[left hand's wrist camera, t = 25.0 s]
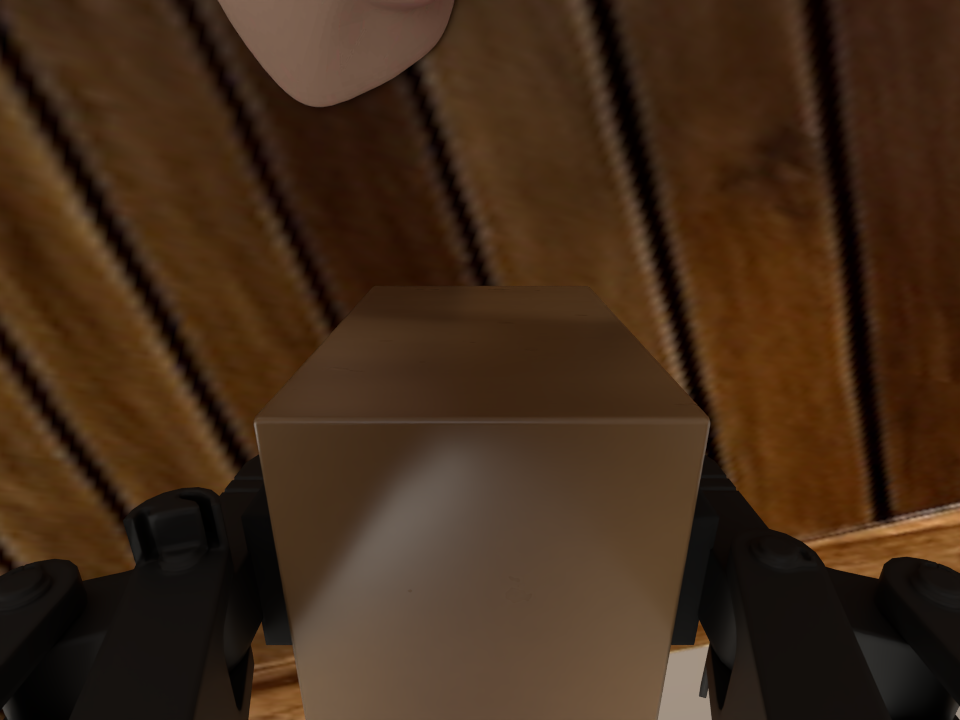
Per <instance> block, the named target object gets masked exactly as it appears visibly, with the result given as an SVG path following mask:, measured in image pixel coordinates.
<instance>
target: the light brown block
mask: <svg viewBox="0 0 960 720" xmlns="http://www.w3.org/2000/svg"><path fill="white" fill-rule="evenodd" d="M254 428H255V433H256V439H257V445H258V451H259V456H260V462H261V468H262V473H263V479H264V485H265V491H266V496H267V502H268V508H269V513H270V519H271V525H272V531H273V536H274V542H275V548H276V553H277V559H278V565H279V571H280V576H281V582H282V588H283V593H284V599H285V605H286V611H287V616H288V622H289V628H290V633H291V639H292V645H293V651H294V656H295V662H296V668H297V673H298V679H299V685H300V691H301V696H302V702H303V708H304V713H305V719H306V720H658V714H659V708H660V703H661V697H662V692H663V686H664V680H665V675H666V669H667V663H668V658H669V652H670V647H671V641H672V635H673V630H674V624H675V619H676V613H677V607H678V602H679V596H680V591H681V585H682V579H683V574H684V568H685V563H686V557H687V551H688V546H689V540H690V534H691V529H692V523H693V518H694V512H695V506H696V501H697V495H698V490H699V484H700V478H701V473H702V467H703V461H704V456H705V450H706V445H707V439H708V433H709V428H710V420H709V417H708V416H707V415H706V414H705V413H704V412H703V411H702V410H701V409H700V407H699V406H698V405H697V404H696V403H695V402H694V401H693V400H692V399H691V398H690V397H689V395H688V394H687V393H686V392H685V391H684V390H683V389H682V388H681V387H680V386H679V384H678V383H677V382H676V381H675V380H674V379H673V378H672V377H671V376H670V375H669V374H668V372H667V371H666V370H665V369H664V368H663V367H662V366H661V365H660V364H659V363H658V362H657V360H656V359H655V358H654V357H653V356H652V355H651V354H650V353H649V352H648V351H647V350H646V348H645V347H644V346H643V345H642V344H641V343H640V342H639V341H638V340H637V339H636V338H635V336H634V335H633V334H632V333H631V332H630V331H629V330H628V329H627V328H626V327H625V326H624V324H623V323H622V322H621V321H620V320H619V319H618V318H617V317H616V316H615V315H614V314H613V312H612V311H611V310H610V309H609V308H608V307H607V306H606V305H605V304H604V303H603V302H602V300H601V299H600V298H599V297H598V296H597V295H596V294H595V293H594V292H593V291H592V289H591V288H590V287H588V286H374V287H373V288H372V289H371V290H370V291H369V292H368V293H367V294H366V295H365V297H364V298H363V299H362V300H361V301H360V302H359V303H358V304H357V305H356V307H355V308H354V309H353V310H352V311H351V312H350V313H349V314H348V315H347V316H346V318H345V319H344V320H343V321H342V322H341V323H340V324H339V325H338V326H337V328H336V329H335V330H334V331H333V332H332V333H331V334H330V335H329V336H328V337H327V339H326V340H325V341H324V342H323V343H322V344H321V345H320V346H319V347H318V348H317V350H316V351H315V352H314V353H313V354H312V355H311V356H310V357H309V358H308V360H307V361H306V362H305V363H304V364H303V365H302V366H301V367H300V368H299V369H298V371H297V372H296V373H295V374H294V375H293V376H292V377H291V378H290V379H289V381H288V382H287V383H286V384H285V385H284V386H283V387H282V388H281V389H280V390H279V392H278V393H277V394H276V395H275V396H274V397H273V398H272V399H271V400H270V402H269V403H268V404H267V405H266V406H265V407H264V408H263V409H262V410H261V411H260V413H259V414H258V415H257V416H256V417H255V420H254Z"/></svg>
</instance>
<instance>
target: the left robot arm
mask: <svg viewBox="0 0 960 720" xmlns="http://www.w3.org/2000/svg"><path fill="white" fill-rule="evenodd" d="M123 522H124V526H125V529H126V532H127V536H128V539H129V542H130V546H131V549H132V552H133V556H134V559H135V562H136V566H135V568H134V569H133V570H130V571H126V572H122V573H117V574H113V575H108V576H104V577H99V578H94V579H90V580H85V581H82V579H81V576H80V573H79V570H78V567H77V566H76V565H75V564H73V563H72V562H70V561H69V560H60V559H51V560H44V561H38V562H34V563H30V564H26V565H25V566H21V567H18V568H15V569H13V570H11V571H9V572H7V573H6V574H4V575H2V576H0V710H1V709H3V711H4V713H5V715H6V717H5V718H4V719H3V720H248V717H249V708H250V699H251V690H252V680H253V671H254V660H253V653H252V649H251V642H252V640H253V638H254V636H255V634H256V632H257V630H258V628H259V626H260V624H261V621H262V626H263V631H264V636H265V641H266V645H292V639H291V633H290V628H289V622H288V616H287V611H286V605H285V599H284V593H283V588H282V582H281V576H280V571H279V565H278V559H277V553H276V548H275V542H274V536H273V531H272V525H271V519H270V513H269V508H268V502H267V496H266V491H265V485H264V479H263V473H262V468H261V462H260V456H259V455H257V456H256V457H254V458H253V459H251V460H250V461H248V462H247V463H245V465H244V466H243V467H242V468H241V470H240V471H239V472H238V473H237V475H236V476H235V477H234V480H232V481H231V482H230V484H229V485H228V486H227V487H226V489H225V492H222V494H221V495H220V496H219V495H217V494H216V493H215V492H213V491H212V490H210V489H205V488H200V487H194V488H181V489H177V490H173V491H169V492H165V493H162V494H160V495H158V496H155V497H153V498H151V499H148V500H146V501H145V502H143V503H142V504H140V505H139V506H137V507H136V508H134V509H133V510H132V511H131V512H130V513H129V514H128V515H127V517H126V518H125V519H124V520H123ZM699 620H700V622H701V624H702V626H703V629H704V631H705V633H706V635H707V637H708V639H709V641H710V644H709V649H708V653H707V658H706V663H705V667H704V672H703V677H702V681H701V687H700V693H699V696H700V697H703V698H706V696H707V691H708V688H709V697H710V707H711V716H712V720H959V718H958V717H957V716H956V715H955V714H956V712H957V710H958V708H959V706H960V573H958V572H956V571H954V570H952V569H951V568H949V567H947V566H944V565H941V564H937V563H936V562H932V561H928V560H924V559H918V558H912V557H900V558H892V559H891V560H889V561H888V562H886V563H885V564H884V566H883V569H882V572H881V574H880V577H879V579H876V578H872V577H867V576H862V575H858V574H853V573H849V572H844V571H839V570H835V569H832V568H828V567H825V565H824V563H823V562H822V560H821V559H820V558H819V556H818V555H817V553H816V552H815V551H813V550H812V549H811V548H809V547H808V546H807V545H806V544H804V543H803V542H802V541H799V540H797V539H795V538H793V537H791V536H789V535H787V534H785V533H782V532H778V531H774V530H771V529H769V528H768V527H767V526H766V525H765V523H764V522H763V521H762V520H761V518H760V517H759V516H758V515H757V513H756V512H755V511H754V510H753V508H752V507H751V506H750V505H749V503H748V502H747V501H746V500H745V498H744V497H743V496H742V495H741V493H740V492H739V491H736V487H735V486H734V485H733V483H732V482H731V481H730V480H729V479H727V478H726V475H725V473H724V472H723V471H722V470H721V468H720V467H719V466H718V465H717V463H716V462H715V461H714V460H712V459H711V458H709V457H707V456H706V455H705V456H704V461H703V467H702V473H701V478H700V484H699V490H698V495H697V501H696V506H695V512H694V518H693V523H692V529H691V534H690V540H689V546H688V551H687V557H686V563H685V568H684V574H683V579H682V585H681V591H680V596H679V602H678V607H677V613H676V619H675V624H674V630H673V635H672V641H671V645H694V642H695V637H696V632H697V627H698V622H699Z"/></svg>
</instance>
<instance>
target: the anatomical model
mask: <svg viewBox="0 0 960 720" xmlns="http://www.w3.org/2000/svg"><path fill="white" fill-rule="evenodd" d="M218 1H219V3H220V5H221V6H222V8H223V10H224V12H225V13H226V15H227V17H228V19H229V20H230V22H231V23H232V25H233V26H234V28H235V29H236V31H237V32H238V34H239V35H240V37H241V38H242V40H243V41H244V43H245V44H246V46H247V47H248V48H249V50H250V51H251V52H252V54H253V55H254V56H255V58H256V59H257V60H258V61H259V63H260V64H261V65H262V67H263V68H264V69H265V70H266V71H267V73H268V74H269V75H270V76H271V77H272V78H273V79H274V81H275V82H276V83H277V84H278V85H279V86H280V87H281V88H282V89H283V90H284V91H285V92H286V93H288V94H289V95H290V96H291V97H293V98H294V99H296V100H297V101H299V102H301V103H303V104H306V105H309V106H313V107H325V106H331V105H335V104H338V103H341V102H344V101H347V100H350V99H352V98H354V97H356V96H358V95H360V94H363V93H365V92H367V91H369V90H371V89H373V88H375V87H377V86H380V85H382V84H383V83H385V82H387V81H389V80H391V79H393V78H394V77H396V76H397V75H399V74H400V73H401V72H403V71H404V70H406V69H407V68H408V67H410V66H411V65H413V64H414V63H415V62H417V61H418V60H420V59H421V58H422V57H423V56H425V55H426V54H427V53H428V52H429V51H430V50H431V49H432V48H433V47H434V46H435V45H436V44H437V42H438V41H439V39H440V38H441V36H442V34H443V33H444V31H445V28H446V26H447V24H448V21H449V18H450V15H451V11H452V8H453V4H454V0H218Z"/></svg>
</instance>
